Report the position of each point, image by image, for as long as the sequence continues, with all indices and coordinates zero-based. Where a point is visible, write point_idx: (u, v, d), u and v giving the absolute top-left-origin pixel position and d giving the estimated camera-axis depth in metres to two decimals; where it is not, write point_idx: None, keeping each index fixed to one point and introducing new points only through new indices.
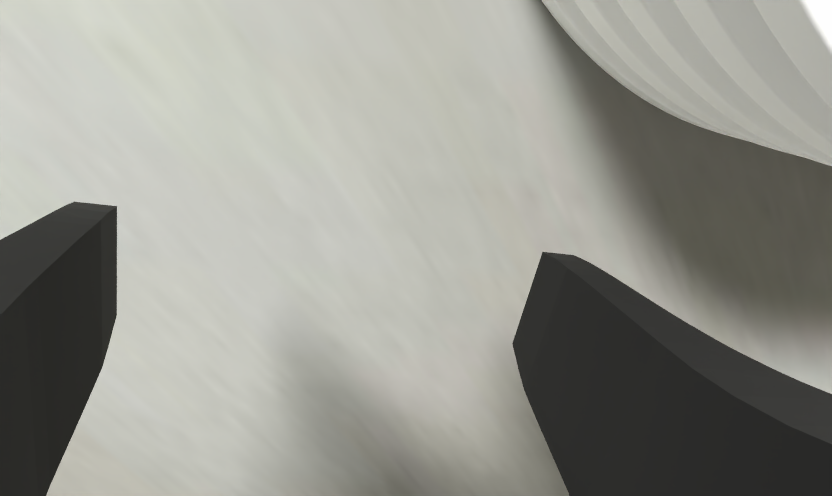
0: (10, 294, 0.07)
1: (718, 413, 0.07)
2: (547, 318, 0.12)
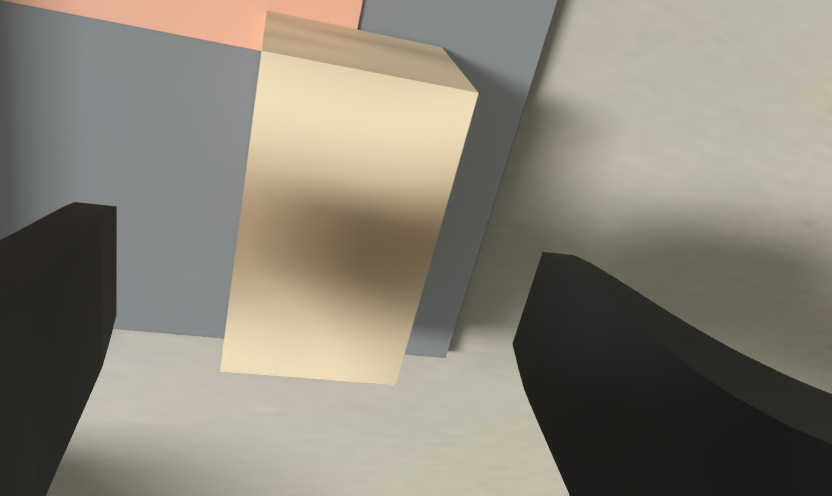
0: (10, 294, 0.07)
1: (718, 413, 0.07)
2: (547, 318, 0.12)
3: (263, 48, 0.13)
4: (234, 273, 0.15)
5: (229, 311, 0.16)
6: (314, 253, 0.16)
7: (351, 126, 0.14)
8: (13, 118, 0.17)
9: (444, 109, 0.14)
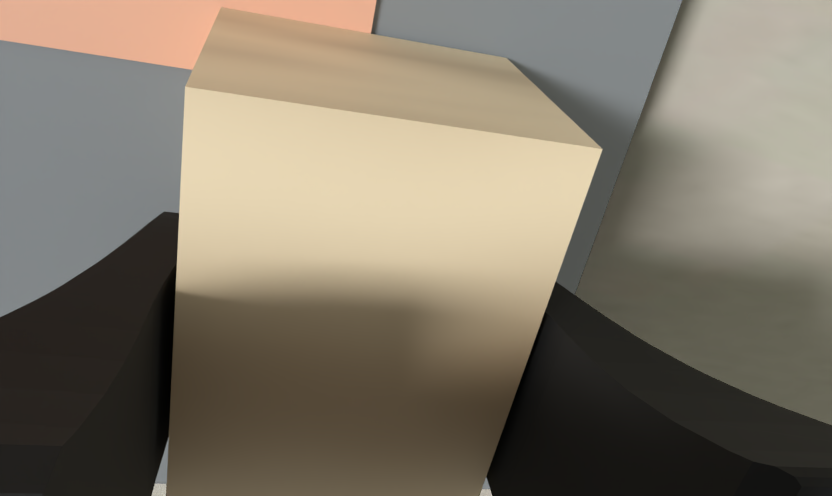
0: (143, 304, 0.07)
1: (615, 408, 0.07)
2: None
3: (191, 81, 0.07)
4: (170, 463, 0.09)
5: None
6: (308, 425, 0.09)
7: (366, 219, 0.08)
8: None
9: (538, 180, 0.08)
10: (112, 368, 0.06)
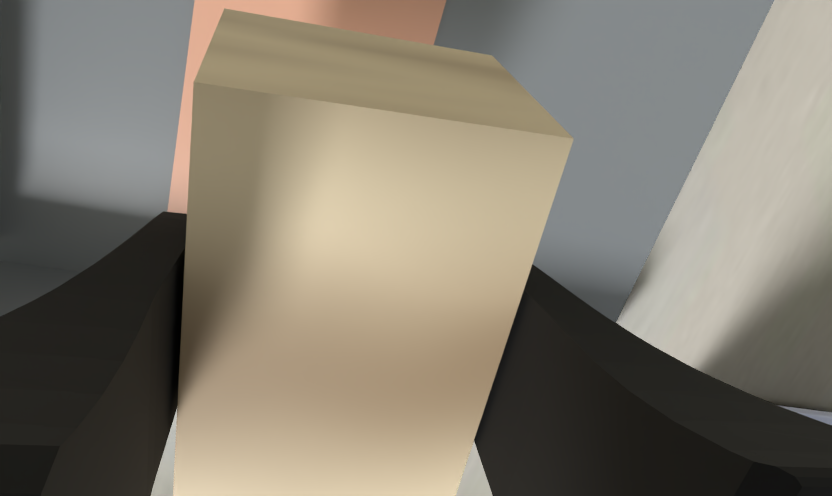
0: (142, 304, 0.07)
1: (614, 408, 0.07)
2: None
3: (198, 77, 0.07)
4: (179, 431, 0.10)
5: (176, 482, 0.10)
6: (306, 395, 0.10)
7: (358, 203, 0.08)
8: None
9: (514, 167, 0.08)
10: (110, 368, 0.06)
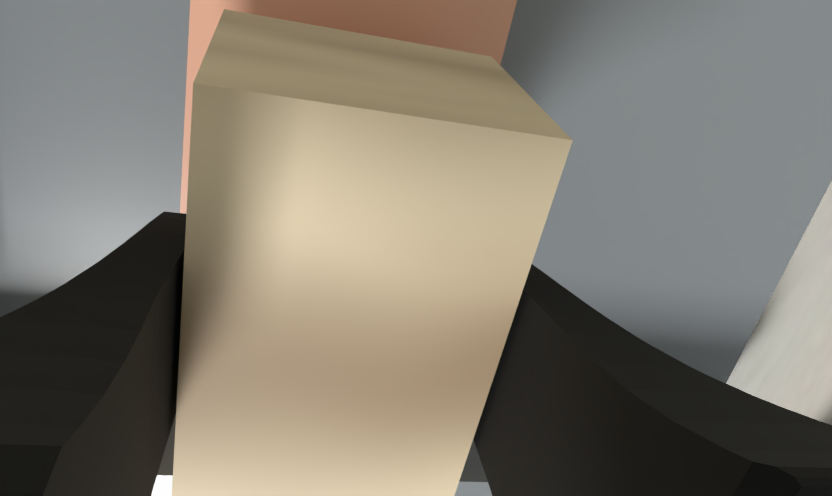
0: (143, 304, 0.07)
1: (614, 409, 0.07)
2: None
3: (198, 78, 0.08)
4: (178, 431, 0.10)
5: (175, 482, 0.10)
6: (305, 396, 0.10)
7: (356, 204, 0.08)
8: None
9: (513, 169, 0.08)
10: (111, 368, 0.06)
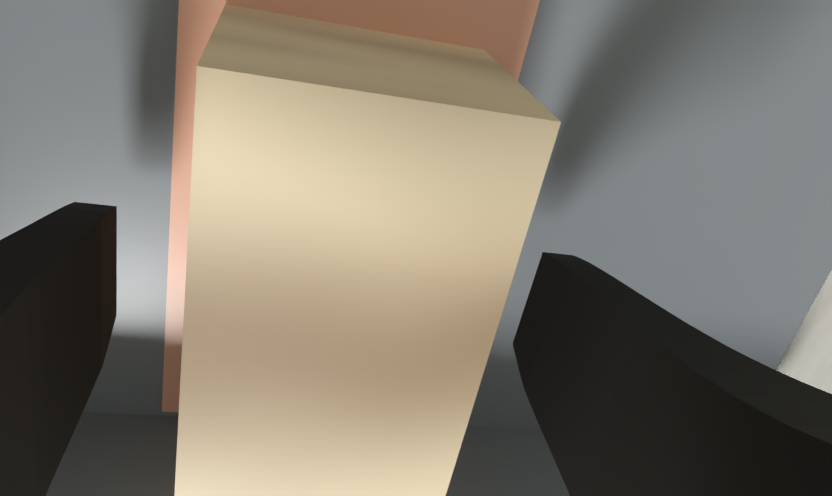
0: (10, 294, 0.07)
1: (718, 413, 0.08)
2: (547, 318, 0.12)
3: (201, 61, 0.08)
4: (181, 410, 0.10)
5: (178, 462, 0.11)
6: (304, 375, 0.10)
7: (354, 184, 0.09)
8: None
9: (504, 150, 0.09)
10: None
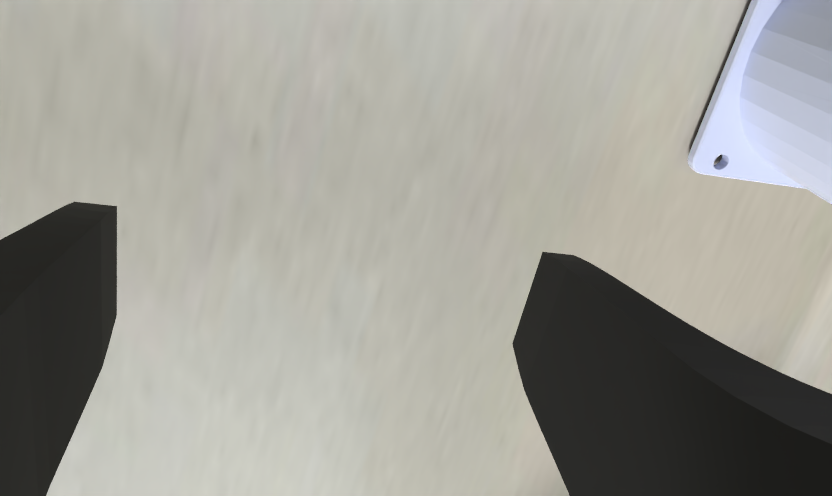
0: (10, 294, 0.07)
1: (717, 413, 0.08)
2: (547, 318, 0.12)
3: None
4: None
5: None
6: None
7: None
8: None
9: None
10: None
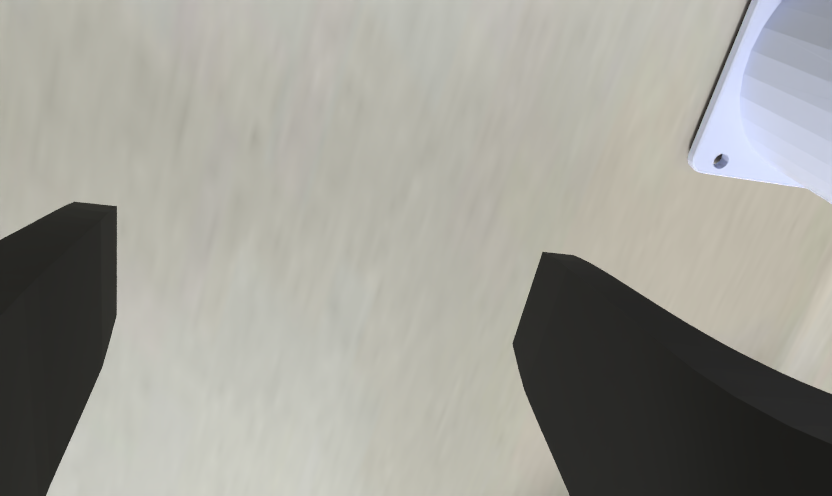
0: (10, 294, 0.07)
1: (718, 414, 0.07)
2: (547, 318, 0.12)
3: None
4: None
5: None
6: None
7: None
8: None
9: None
10: None
